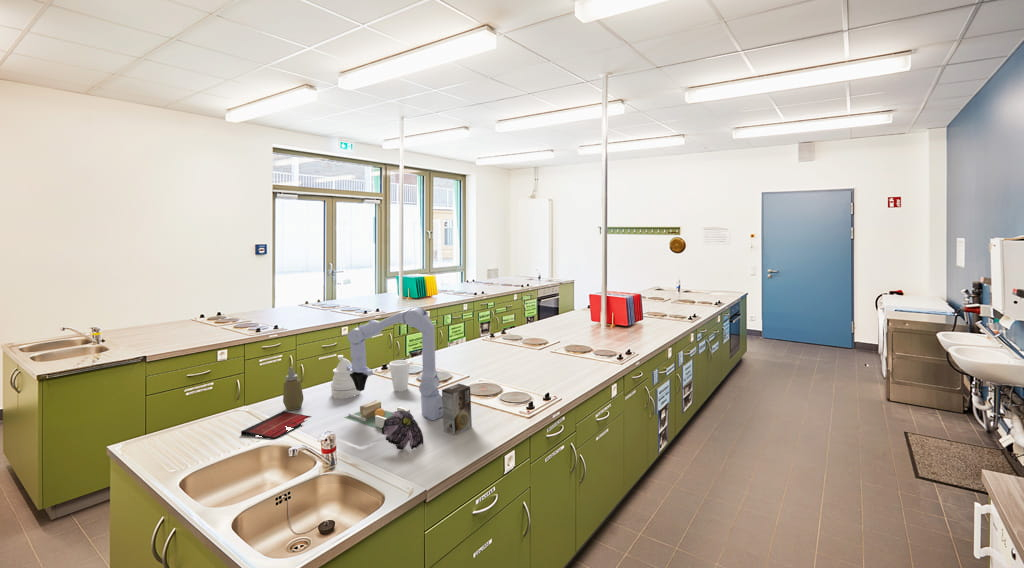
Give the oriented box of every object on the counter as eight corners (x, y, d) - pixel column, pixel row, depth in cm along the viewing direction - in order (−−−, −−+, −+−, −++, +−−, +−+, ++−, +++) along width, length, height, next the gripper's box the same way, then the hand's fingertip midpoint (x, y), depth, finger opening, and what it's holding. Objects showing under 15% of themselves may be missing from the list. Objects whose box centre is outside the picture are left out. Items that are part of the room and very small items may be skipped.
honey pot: (325, 397, 218) (323, 358, 216) (343, 388, 231) (341, 351, 229) (349, 399, 215) (347, 360, 213) (366, 390, 227) (364, 353, 225)
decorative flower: (391, 429, 156) (384, 402, 169) (380, 458, 159) (375, 429, 172) (432, 432, 163) (423, 406, 176) (422, 459, 166) (413, 432, 179)
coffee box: (460, 423, 184) (458, 383, 182) (472, 427, 180) (471, 386, 178) (442, 431, 177) (441, 389, 175) (454, 435, 173) (453, 392, 171)
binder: (240, 430, 178) (282, 410, 198) (240, 436, 178) (282, 415, 198) (275, 436, 173) (315, 415, 193) (276, 442, 173) (315, 421, 193)
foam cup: (413, 386, 231) (412, 359, 230) (407, 392, 222) (406, 365, 221) (394, 386, 232) (393, 359, 231) (387, 392, 223) (386, 365, 222)
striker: (381, 413, 194) (380, 401, 194) (365, 419, 188) (364, 407, 187) (376, 411, 196) (376, 400, 196) (360, 418, 190) (359, 406, 189)
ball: (387, 418, 189) (386, 408, 189) (379, 421, 186) (378, 411, 186) (380, 416, 192) (380, 406, 191) (372, 419, 188) (372, 409, 188)
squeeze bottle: (296, 412, 200) (293, 370, 198) (279, 411, 202) (276, 369, 200) (308, 405, 208) (305, 365, 206) (291, 404, 210) (288, 364, 208)
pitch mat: (413, 420, 188) (413, 416, 188) (385, 433, 177) (385, 428, 176) (372, 408, 202) (372, 404, 202) (344, 419, 191) (343, 414, 191)
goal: (410, 419, 187) (409, 409, 187) (386, 429, 178) (386, 419, 177) (399, 416, 191) (398, 406, 191) (375, 426, 182) (375, 415, 181)
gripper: (339, 357, 194) (341, 389, 195) (361, 362, 186) (363, 396, 187) (353, 353, 200) (355, 385, 201) (376, 358, 191) (378, 391, 193)
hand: (360, 390), depth 195 cm, fingers closed
